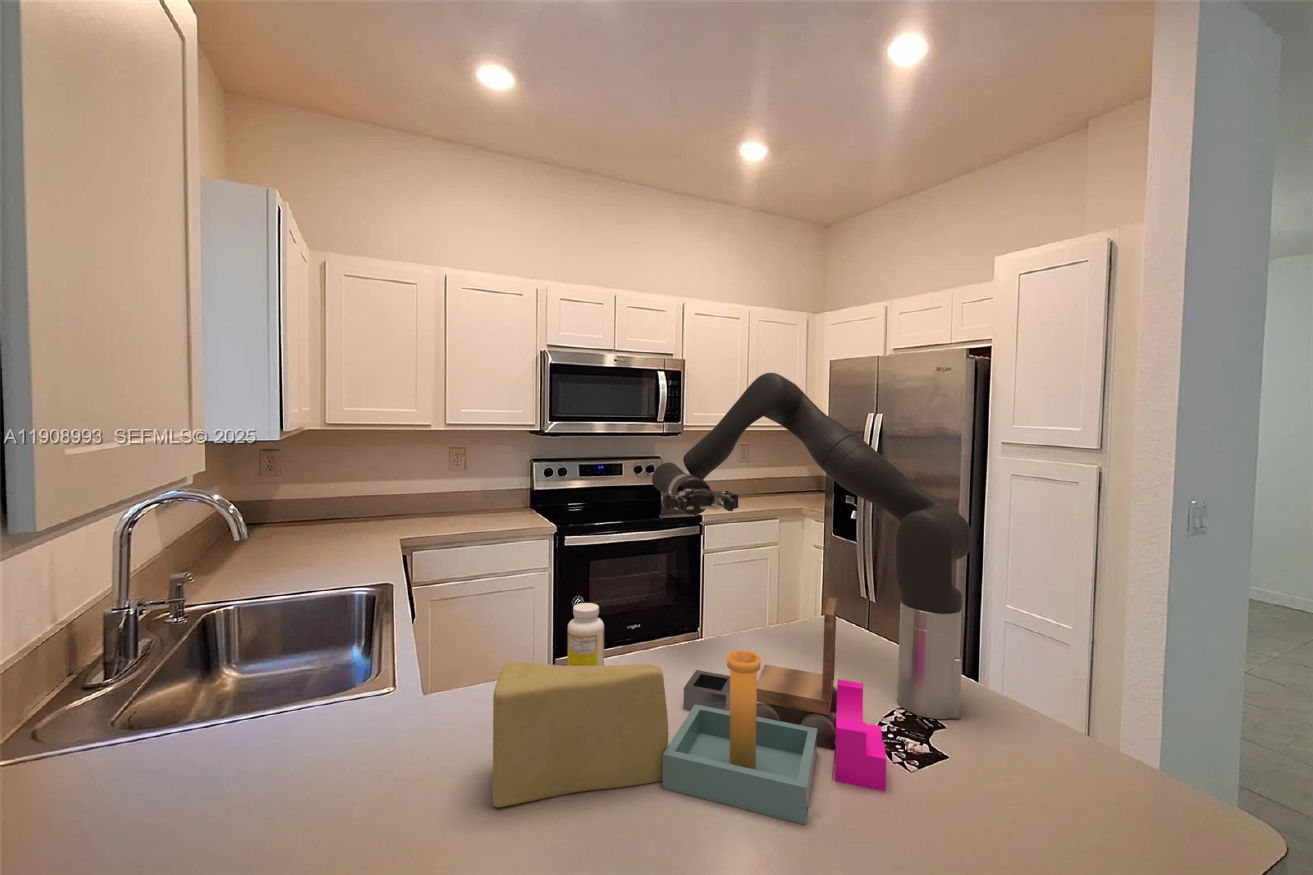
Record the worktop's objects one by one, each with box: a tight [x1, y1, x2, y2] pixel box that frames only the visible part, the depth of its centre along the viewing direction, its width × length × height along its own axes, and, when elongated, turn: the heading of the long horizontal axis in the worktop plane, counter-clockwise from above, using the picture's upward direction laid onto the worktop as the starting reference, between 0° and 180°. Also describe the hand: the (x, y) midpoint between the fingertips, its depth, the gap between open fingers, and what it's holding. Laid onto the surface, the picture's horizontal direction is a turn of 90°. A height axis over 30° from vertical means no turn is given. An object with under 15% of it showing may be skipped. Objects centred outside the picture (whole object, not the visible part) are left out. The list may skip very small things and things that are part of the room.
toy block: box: [834, 678, 887, 792], centre depth 83 cm, size 15×6×8 cm, turn 162°
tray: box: [662, 704, 818, 826], centre depth 79 cm, size 18×14×4 cm
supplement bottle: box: [567, 602, 605, 666], centre depth 107 cm, size 7×7×13 cm
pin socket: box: [682, 669, 730, 712], centre depth 96 cm, size 7×7×4 cm
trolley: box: [756, 597, 838, 750], centre depth 91 cm, size 13×12×20 cm
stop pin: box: [726, 649, 761, 770], centre depth 78 cm, size 4×4×15 cm
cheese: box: [492, 661, 669, 808], centre depth 76 cm, size 22×10×15 cm, turn 96°
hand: (708, 505), depth 104 cm, fingers open, 8 cm apart
